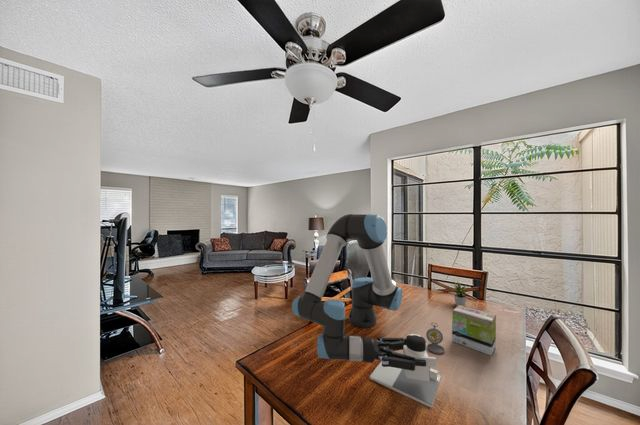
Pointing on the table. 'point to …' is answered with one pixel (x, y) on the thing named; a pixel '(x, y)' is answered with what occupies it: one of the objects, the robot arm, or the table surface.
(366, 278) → the robot arm
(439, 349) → the pocket watch
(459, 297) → the house plant
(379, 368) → the board
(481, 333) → the tea box
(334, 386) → the table surface
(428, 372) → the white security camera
